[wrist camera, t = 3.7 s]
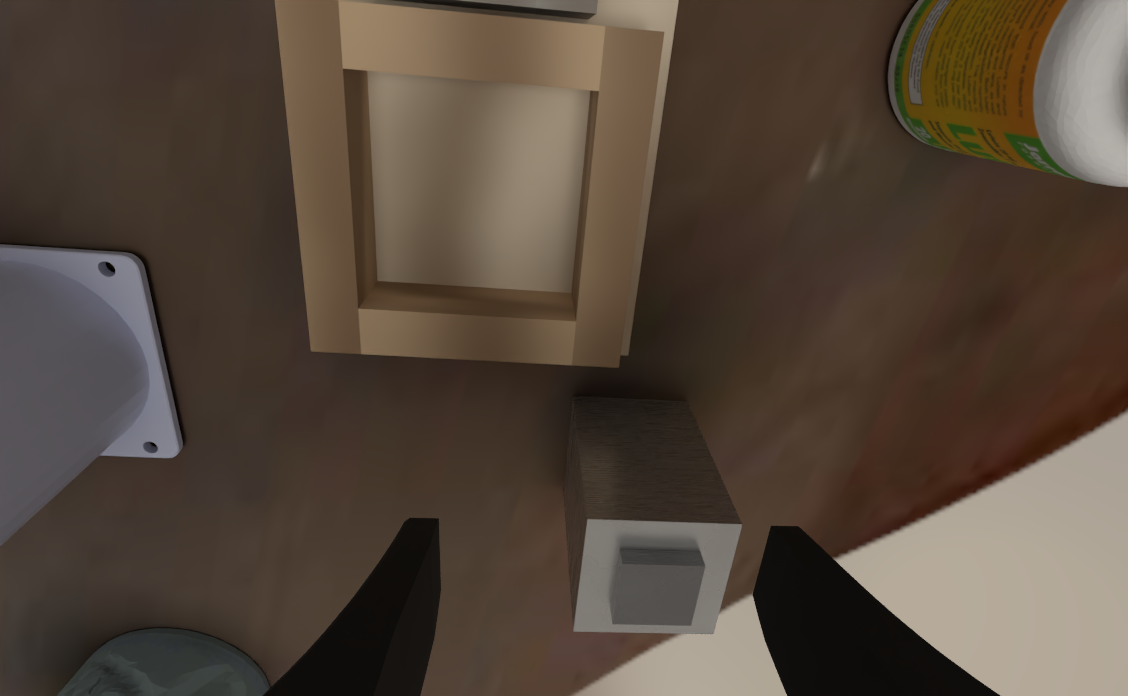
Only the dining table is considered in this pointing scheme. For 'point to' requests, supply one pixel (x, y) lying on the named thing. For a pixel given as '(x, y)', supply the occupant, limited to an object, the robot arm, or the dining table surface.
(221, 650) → the green plant pot
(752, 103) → the dining table surface
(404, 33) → the socket board
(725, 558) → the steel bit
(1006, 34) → the supplement bottle
